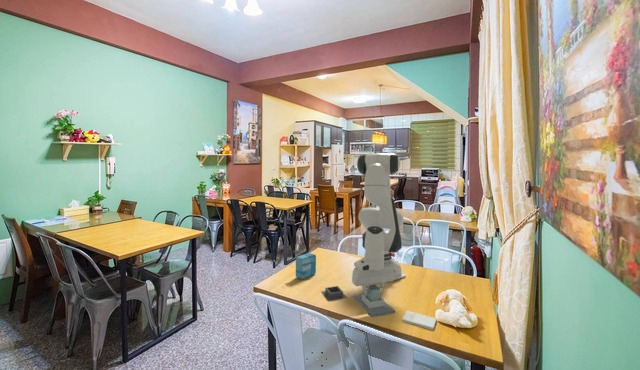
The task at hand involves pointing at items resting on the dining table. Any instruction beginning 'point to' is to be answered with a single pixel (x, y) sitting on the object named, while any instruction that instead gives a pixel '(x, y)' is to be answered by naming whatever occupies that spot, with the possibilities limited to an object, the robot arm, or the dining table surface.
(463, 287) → the dining table surface
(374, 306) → the dock
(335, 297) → the dark grey square box
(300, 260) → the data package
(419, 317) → the external hard drive
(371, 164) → the robot arm
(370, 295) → the plug
